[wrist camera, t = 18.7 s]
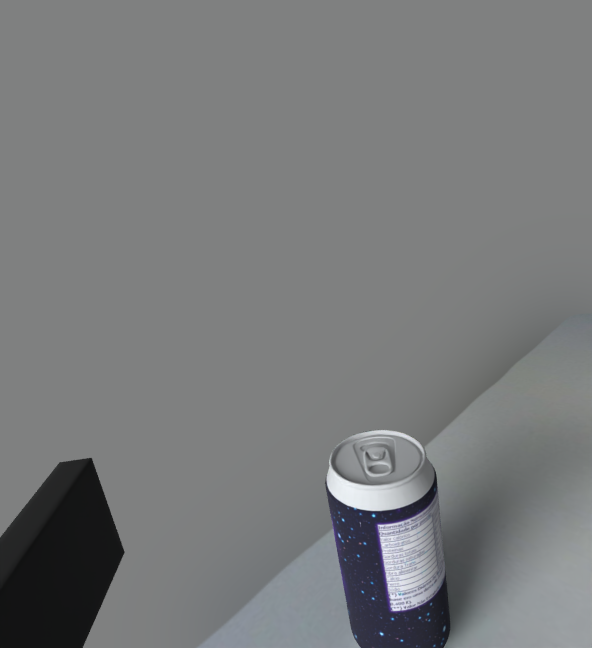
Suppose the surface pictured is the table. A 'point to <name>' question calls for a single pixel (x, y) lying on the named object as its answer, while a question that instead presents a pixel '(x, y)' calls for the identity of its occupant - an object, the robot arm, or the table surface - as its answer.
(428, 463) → the beverage can
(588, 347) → the table surface
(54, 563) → the robot arm
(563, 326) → the table surface
